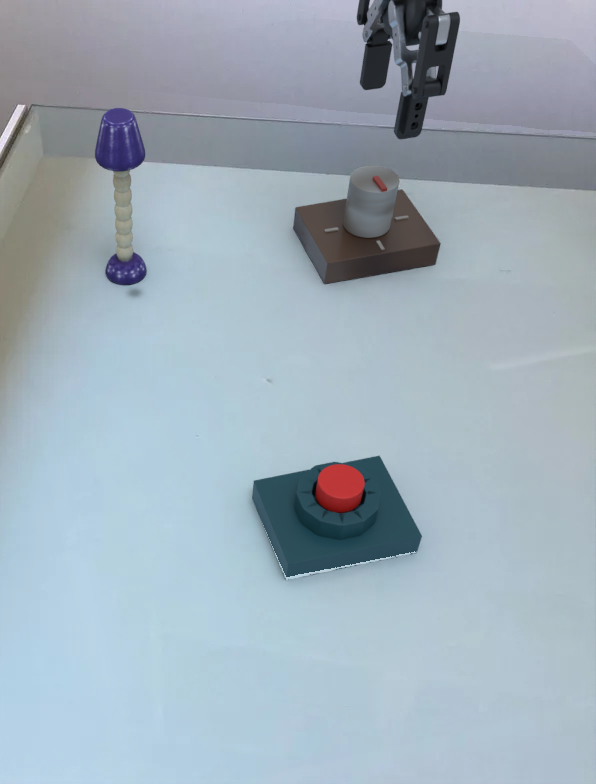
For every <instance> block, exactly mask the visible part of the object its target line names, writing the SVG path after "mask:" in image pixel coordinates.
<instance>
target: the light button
mask: <svg viewBox="0 0 596 784" xmlns="http://www.w3.org/2000/svg"><path fill="white" fill-rule="evenodd" d="M364 485H365V481H364V478H363V476H362V474H361V473H360V472H359V471H358V470H356V469H355V468H353V467H351V466H348V465H343V464H336V465H331V466H328V467H326V468H325V469H323V470H322V471H321V472H320V474H319V476H318V481H317V487H316V493H315V495H316V499H317V501H318V503H319V504H320V505H321V506H322V507H323V508H325V509H326V510H329V511H331V512H336V513H345V512H349V511H352V510H353V509H355V508H356V507H357V506H358V505H359V504H360V502H361V498H362V494H363V490H364Z"/></svg>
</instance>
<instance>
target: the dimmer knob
mask: <svg viewBox="0 0 596 784" xmlns="http://www.w3.org/2000/svg"><path fill="white" fill-rule="evenodd" d="M399 186H400V177H399V175H398V174H397V172H395V171H394V170H393V169H391V168H389V167H385V166H381V165H376V164H375V165H374V164H372V165H363V166H360V167H357V168H355V169H354V170H353V171H352V172H351V173H350V176H349V181H348V188H347V193H346V194H347V195H346V199H347V200H346V206H345V213H344V219H343V225H344V227H345V229H346V230H347V231H348V232H349V233H351V234H353V235H355V236H358V237H363V238H374V237H379V236H382V235H384V234H385V233H386V232H388V230H389V229H390V226H391V221H392V216H393V211H394V206H395V201H396V196H397V191H398V190H399Z"/></svg>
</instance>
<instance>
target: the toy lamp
mask: <svg viewBox="0 0 596 784" xmlns="http://www.w3.org/2000/svg"><path fill="white" fill-rule="evenodd" d="M94 158H95V161H96V163H97V164H98V165H99V166H100V167H102V169H104V170H107V171H111V172H112V173H113V176H112V185H113V188H114V191H113V199H114V203H115V204H114V209H113V210H114V215H115V219H114V229H115V231H116V232H115V242H116V248H115V253H114V254H113V255H112V256H110V258H109V259H108V260H107V263H106V265H105V275H106V277H107V279H108V280H109V281H110V282H112V283H114V284H117V285H124V286H126V285H127V286H128V285H129V286H130V285H133V284H136V283H139V282H141V281H142V280H143V279H144V278H145V277H146V275H147V266H146V262H145V261H144V259H143V257H142V256H141V255H140V254H138V253H136V252H135V251H134V246H133V242H134V241H133V240H134V236H133V231H132V230H133V225H134V222H133V221H134V220H133V218H132V215H133V204H132V202H131V201H132V198H133V193H132V189H131V186H132V176H131V174H130V172H131V170H134V169H136V168H138V167H140V166H141V165H142V164H143V162H144V161H145V159H146V149H145V144H144V140H143V138H142V134H141V131H140V128H139V124H138V121H137V118H136V116H135V114H134V113H133V112H132V110H129V109H128V108H124V107H114V108H110V109H108V110H106V111H105V112H104V113H103V115H102V116H101V119H100V124H99V129H98V135H97V139H96V143H95V149H94Z"/></svg>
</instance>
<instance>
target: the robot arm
mask: <svg viewBox="0 0 596 784" xmlns="http://www.w3.org/2000/svg"><path fill="white" fill-rule="evenodd" d="M370 2H371V0H358V5H357V11H356V22H357V25H358V26H363V29H362V40H363V42H364V43H365V44H364V51H363V58H362V64H361V71H360V78H359V85H360V86H361V88H362V89H363V90H364V91H370V90H378V89H382V88H384V86H385V85H386V83H387V77H388V73H389V66H390V61H391V55H392V49H393V62H394V63H395V65H397V66H398V67H399V68H400V77H401V78H400V79H401V92H400V96H399V101H398V106H397V112H396V115H395V116H396V117H395V122H394V127H393V134H394V135H395V137H396V138H397V140H404V139H405V140H406V139H413V138H418V137H419V136H420V135H421V133H422V131H423V127H424V122H425V116H426V112H427V107H428V102H429V98H434V97H440V96H445V95H446V94H447V91H448V85H449V79H450V75H451V71H452V69H451V68H452V64H453V59H454V55H455V49H456V44H457V39H458V34H459V28H460V24H461V15H460V13H459V12H458V11H452V12H451V11H450V12H445V11H444V10H443V0H373V2H372V3H371V5H370ZM391 40H392V42H391ZM409 46H410V47H411V46H418V48H417V49H413V50H410V49H408V47H409ZM413 64H415V67H414V69H413ZM413 71H414V73H413Z"/></svg>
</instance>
